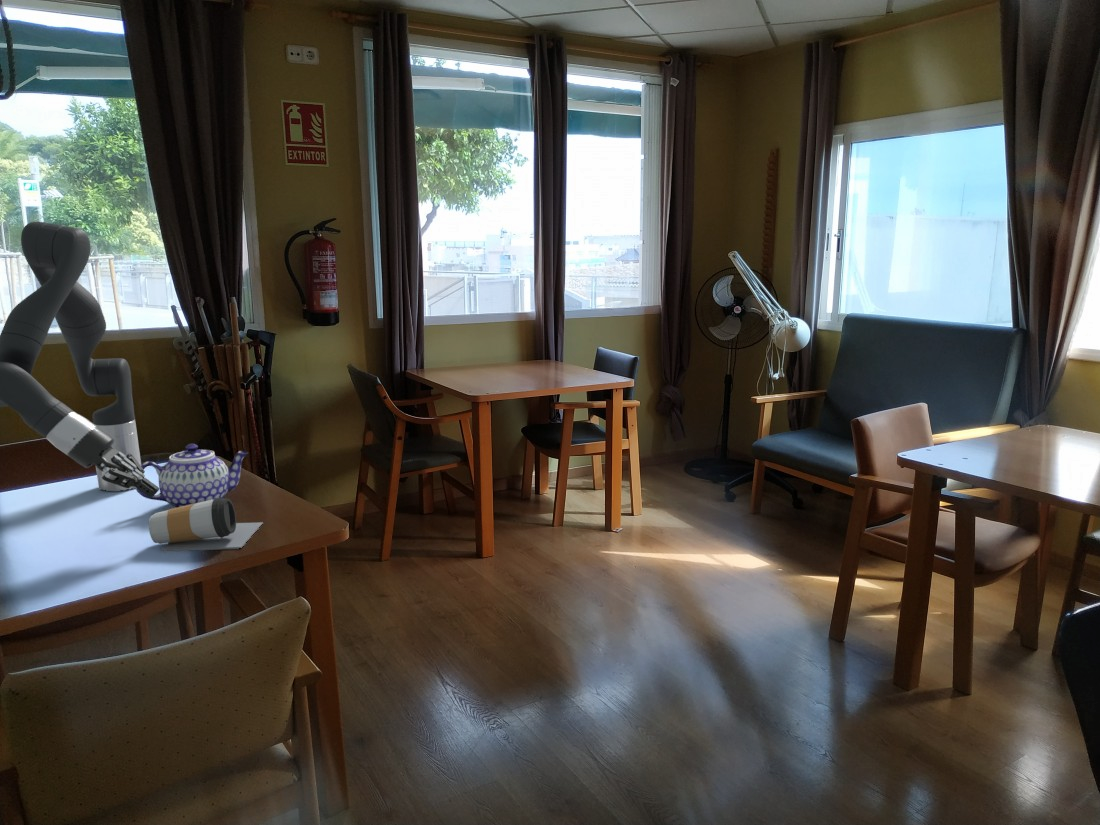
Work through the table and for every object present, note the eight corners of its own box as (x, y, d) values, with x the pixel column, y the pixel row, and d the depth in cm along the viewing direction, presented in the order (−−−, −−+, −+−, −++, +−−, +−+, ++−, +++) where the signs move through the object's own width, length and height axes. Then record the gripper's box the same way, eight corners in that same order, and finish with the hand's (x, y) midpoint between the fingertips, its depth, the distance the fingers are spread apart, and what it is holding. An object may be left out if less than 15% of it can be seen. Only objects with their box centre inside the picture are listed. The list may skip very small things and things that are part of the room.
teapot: (139, 524, 166) (131, 459, 163) (136, 504, 179) (128, 444, 175) (258, 504, 178) (252, 443, 175) (247, 487, 191) (242, 430, 188)
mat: (160, 551, 150) (160, 549, 150) (189, 526, 164) (188, 524, 164) (241, 548, 151) (241, 546, 151) (263, 524, 165) (263, 522, 165)
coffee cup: (162, 512, 158) (235, 499, 160) (164, 551, 156) (238, 538, 157) (145, 505, 150) (221, 492, 152) (146, 546, 148) (224, 532, 149)
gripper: (81, 433, 141) (159, 490, 146) (104, 418, 153) (176, 471, 159) (53, 462, 141) (133, 518, 146) (80, 445, 153) (152, 496, 159)
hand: (155, 493), depth 152 cm, fingers closed
